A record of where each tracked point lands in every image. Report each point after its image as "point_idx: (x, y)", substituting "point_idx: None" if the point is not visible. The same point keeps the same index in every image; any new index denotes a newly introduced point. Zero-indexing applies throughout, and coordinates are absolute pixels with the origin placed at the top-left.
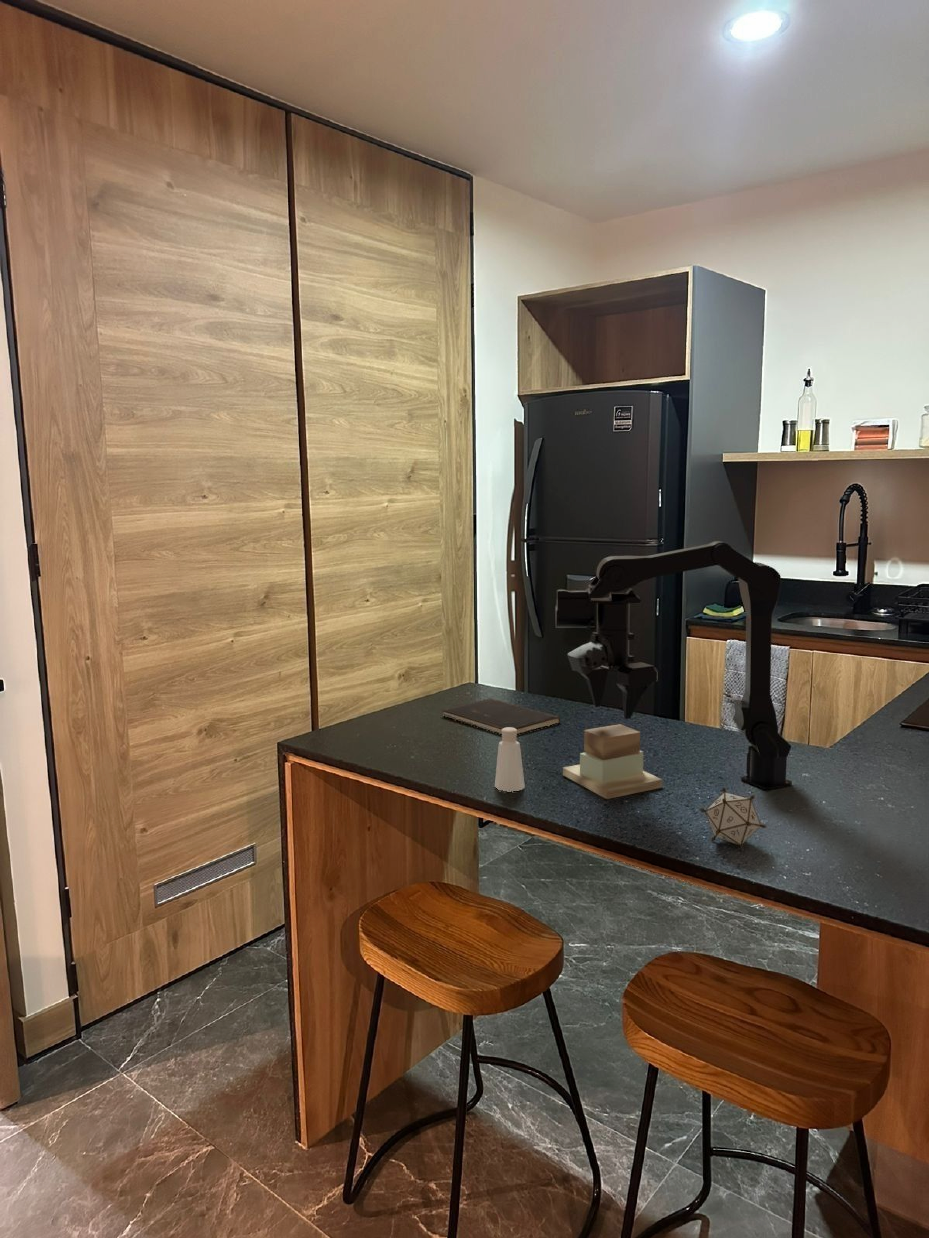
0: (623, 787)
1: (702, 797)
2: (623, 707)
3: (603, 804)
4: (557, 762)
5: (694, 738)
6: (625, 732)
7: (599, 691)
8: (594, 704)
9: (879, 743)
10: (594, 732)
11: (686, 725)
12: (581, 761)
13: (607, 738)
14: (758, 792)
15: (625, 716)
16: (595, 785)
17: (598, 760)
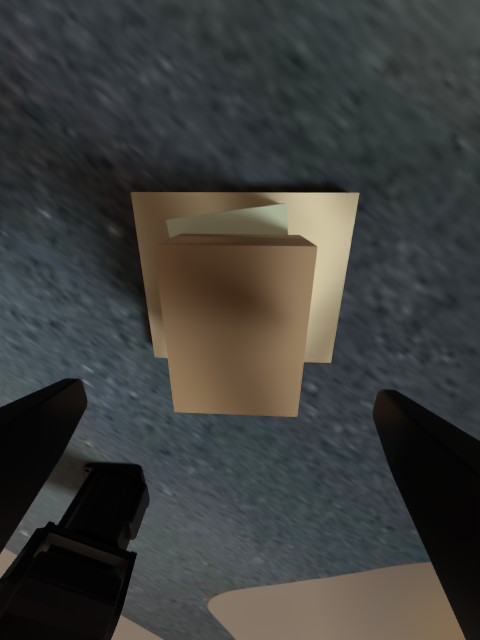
0: (139, 249)
1: (87, 374)
2: (9, 418)
3: (110, 160)
4: (443, 244)
5: (349, 532)
6: (193, 371)
7: (439, 513)
8: (395, 395)
9: (193, 630)
10: (257, 266)
11: (410, 559)
12: (275, 204)
13: (158, 267)
14: (84, 452)
15: (54, 383)
16: (184, 192)
17: (187, 217)
